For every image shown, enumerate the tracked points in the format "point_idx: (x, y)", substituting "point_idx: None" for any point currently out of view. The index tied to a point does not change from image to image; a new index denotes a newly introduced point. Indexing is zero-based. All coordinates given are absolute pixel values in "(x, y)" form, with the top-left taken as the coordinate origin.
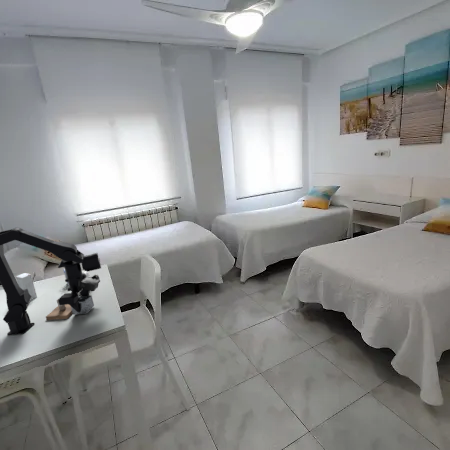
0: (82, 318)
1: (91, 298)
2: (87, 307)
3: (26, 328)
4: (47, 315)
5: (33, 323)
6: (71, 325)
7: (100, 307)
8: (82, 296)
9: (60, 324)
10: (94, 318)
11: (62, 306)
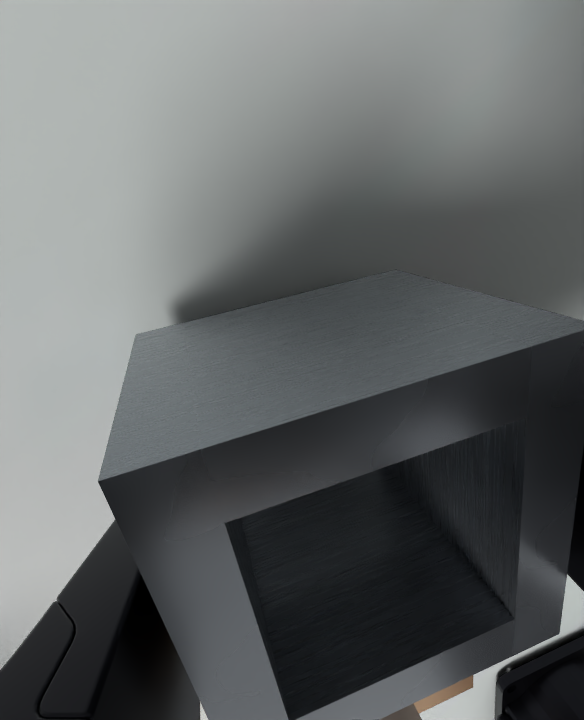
0: (453, 282)
1: (164, 407)
2: (391, 299)
3: (575, 661)
4: (452, 694)
5: (513, 683)
6: (576, 313)
7: (118, 178)
8: (232, 692)
9: None
10: (471, 42)
11: (407, 710)
